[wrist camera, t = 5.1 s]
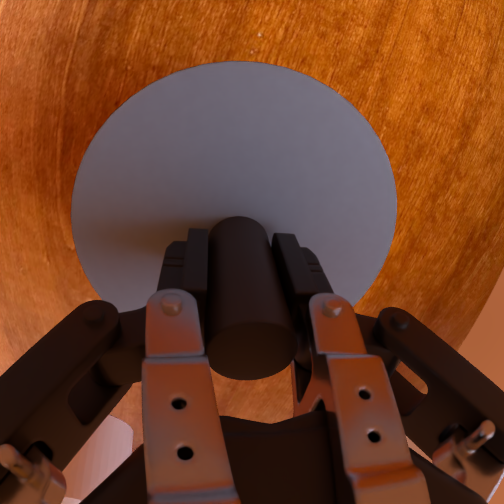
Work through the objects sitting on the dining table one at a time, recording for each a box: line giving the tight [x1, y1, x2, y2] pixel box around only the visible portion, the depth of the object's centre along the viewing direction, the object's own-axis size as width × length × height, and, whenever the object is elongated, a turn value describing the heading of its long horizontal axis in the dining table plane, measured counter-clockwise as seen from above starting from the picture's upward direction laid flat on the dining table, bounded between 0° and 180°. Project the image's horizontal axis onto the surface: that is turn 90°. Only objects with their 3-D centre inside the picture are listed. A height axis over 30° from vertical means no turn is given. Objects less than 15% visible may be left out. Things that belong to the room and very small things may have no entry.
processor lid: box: [71, 61, 397, 380], centre depth 11 cm, size 14×14×7 cm
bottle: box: [61, 415, 133, 504], centre depth 34 cm, size 12×12×25 cm
